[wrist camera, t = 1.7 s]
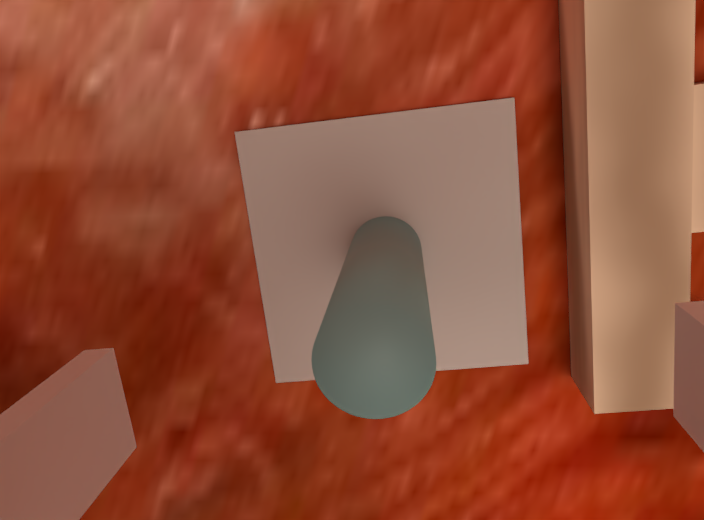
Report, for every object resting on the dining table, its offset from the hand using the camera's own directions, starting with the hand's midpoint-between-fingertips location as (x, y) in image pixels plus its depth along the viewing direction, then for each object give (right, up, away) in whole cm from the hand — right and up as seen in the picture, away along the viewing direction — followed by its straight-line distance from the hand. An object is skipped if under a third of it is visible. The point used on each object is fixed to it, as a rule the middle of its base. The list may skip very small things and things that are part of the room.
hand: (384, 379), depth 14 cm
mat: (+1, +3, +13) cm, 14 cm away
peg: (+1, +3, +13) cm, 13 cm away
